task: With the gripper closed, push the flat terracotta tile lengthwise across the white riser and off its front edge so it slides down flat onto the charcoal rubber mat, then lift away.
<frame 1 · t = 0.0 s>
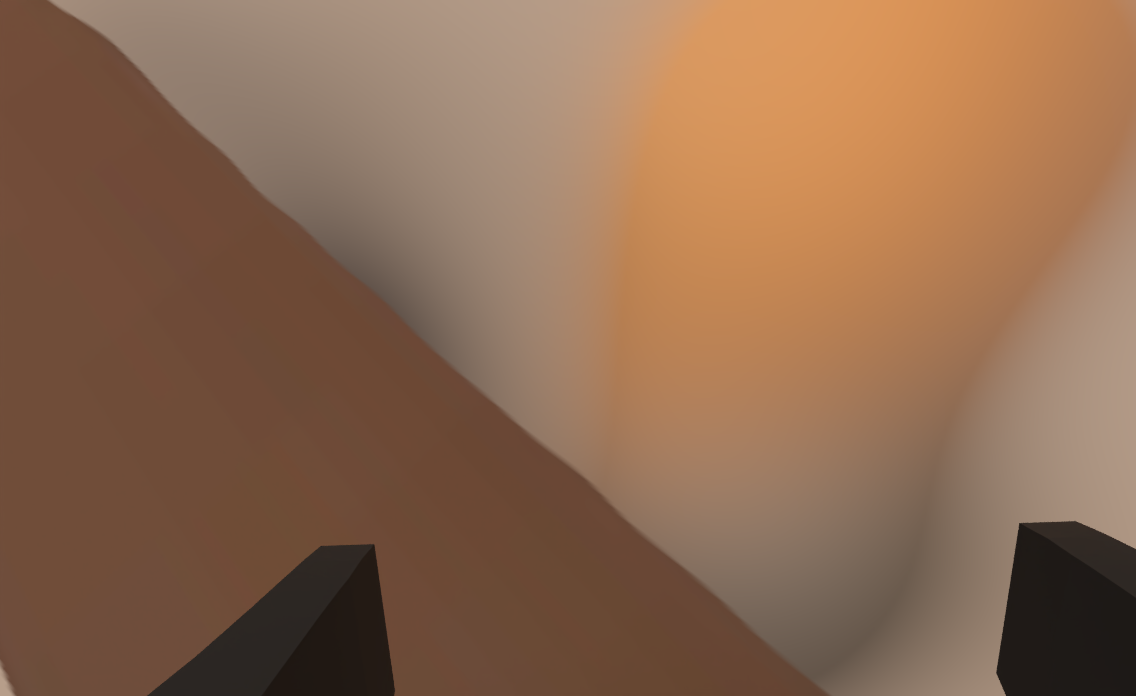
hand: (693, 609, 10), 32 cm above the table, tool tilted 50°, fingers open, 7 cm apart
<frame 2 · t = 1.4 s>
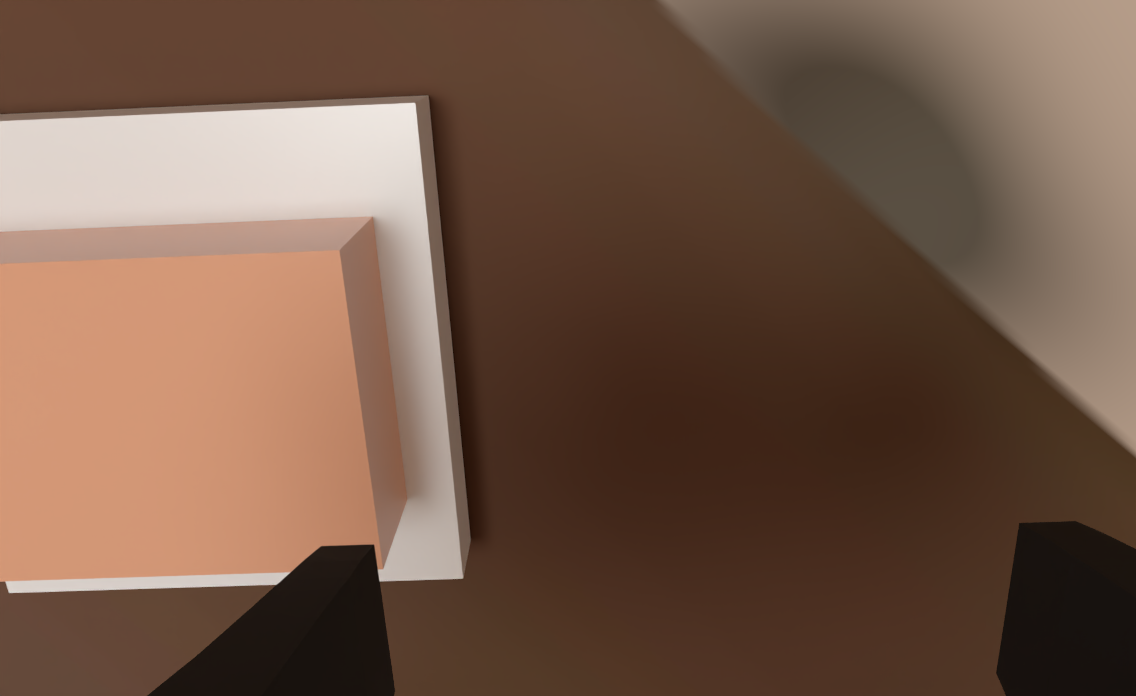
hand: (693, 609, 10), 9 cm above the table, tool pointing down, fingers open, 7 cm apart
white riser: (219, 347, 19), on the table
terracotta tile: (190, 373, 18), point 1 cm above the table, touching white riser
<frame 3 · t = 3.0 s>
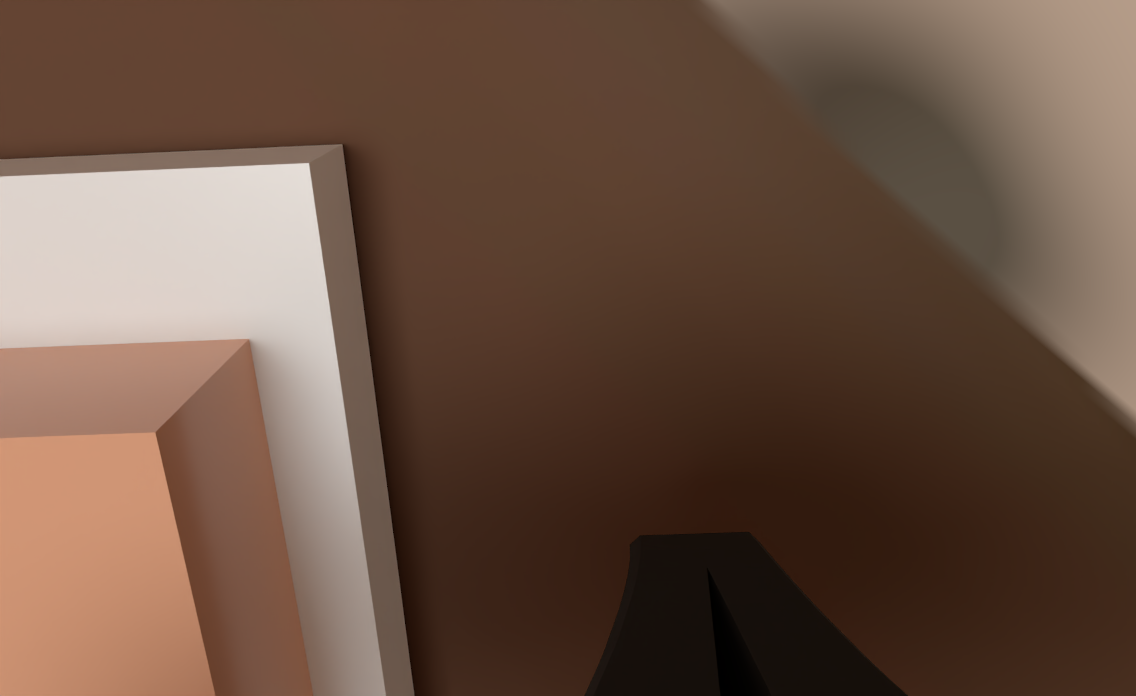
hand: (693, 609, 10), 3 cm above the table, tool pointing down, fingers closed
white riser: (47, 507, 13), on the table
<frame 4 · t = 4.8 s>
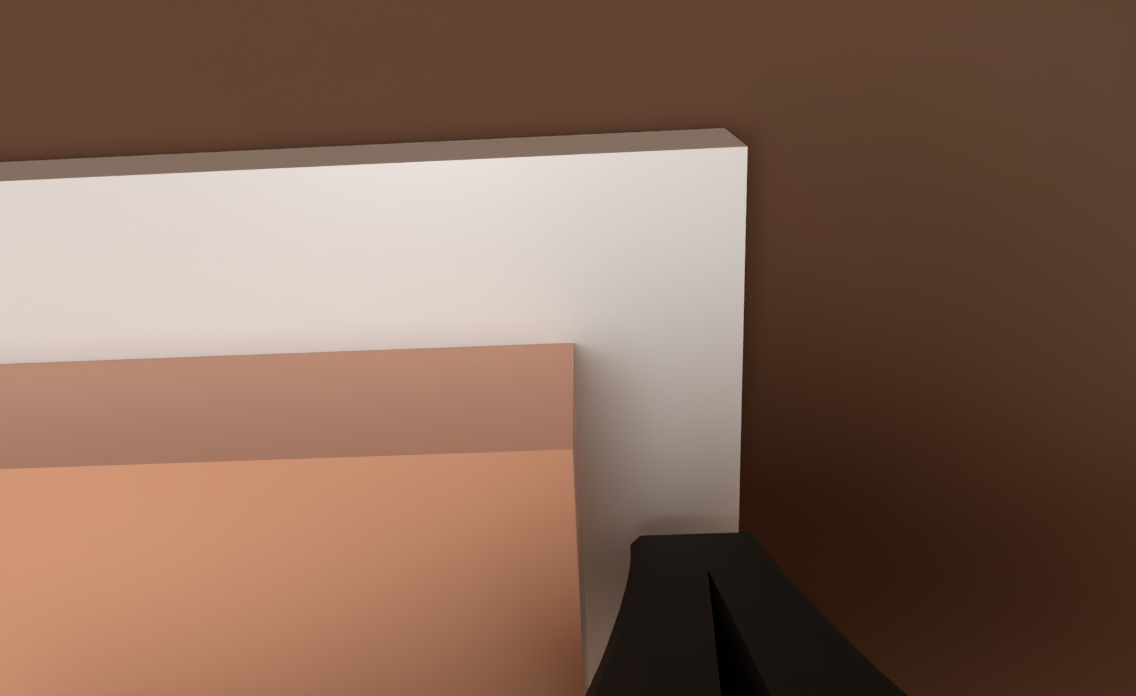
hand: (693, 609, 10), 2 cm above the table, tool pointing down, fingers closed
white riser: (352, 518, 12), on the table
terracotta tile: (254, 586, 11), point 2 cm above the table, touching white riser
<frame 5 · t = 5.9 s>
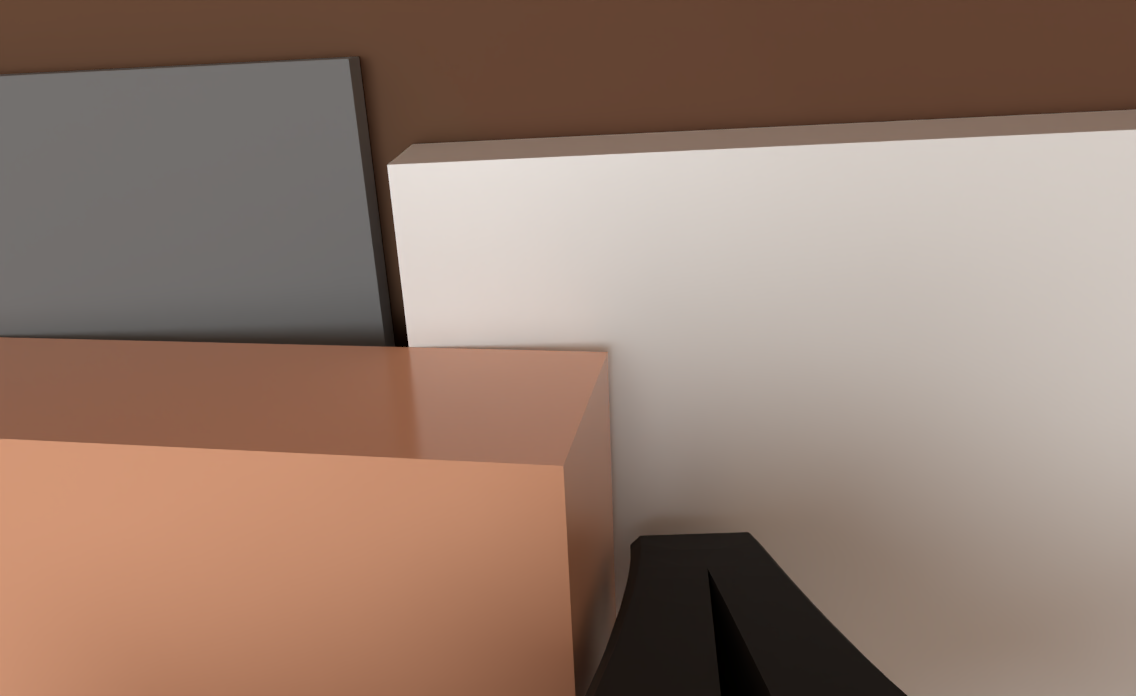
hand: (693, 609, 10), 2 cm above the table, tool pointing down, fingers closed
charcoal mat: (38, 465, 12), on the table
white riser: (820, 501, 12), on the table
terracotta tile: (296, 568, 11), point 1 cm above the table, tilted 10°, touching gripper
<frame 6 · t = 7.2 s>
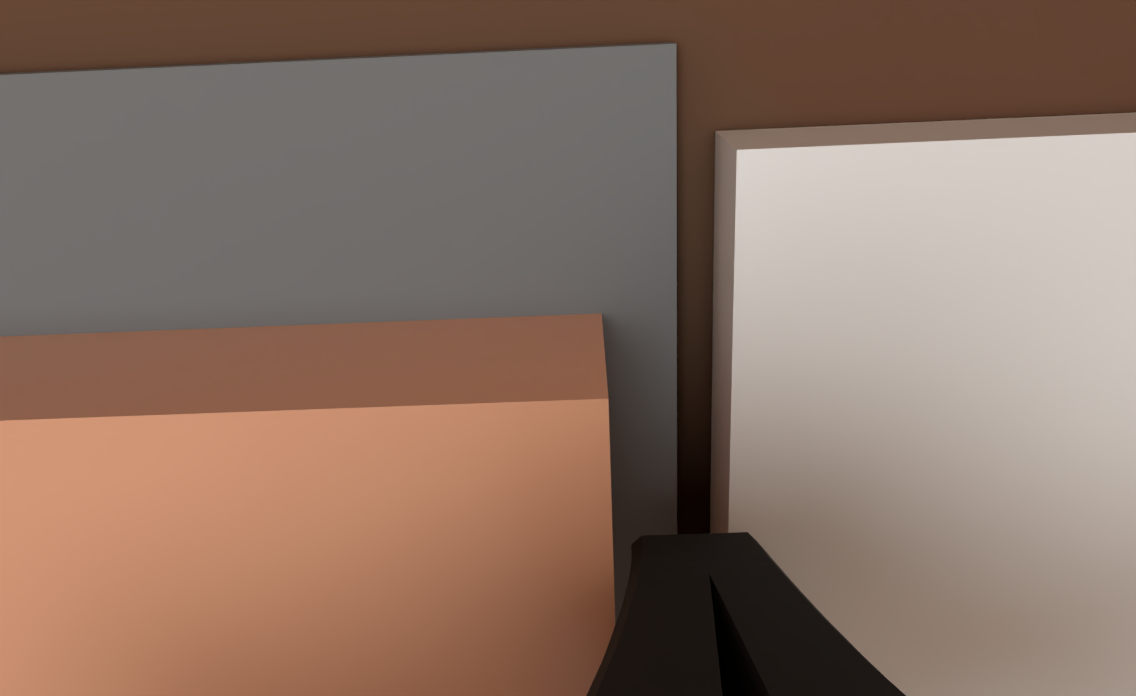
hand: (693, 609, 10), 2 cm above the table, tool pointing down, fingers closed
charcoal mat: (297, 455, 12), on the table
white riser: (1083, 494, 12), on the table
terracotta tile: (305, 540, 12), resting on charcoal mat, touching gripper
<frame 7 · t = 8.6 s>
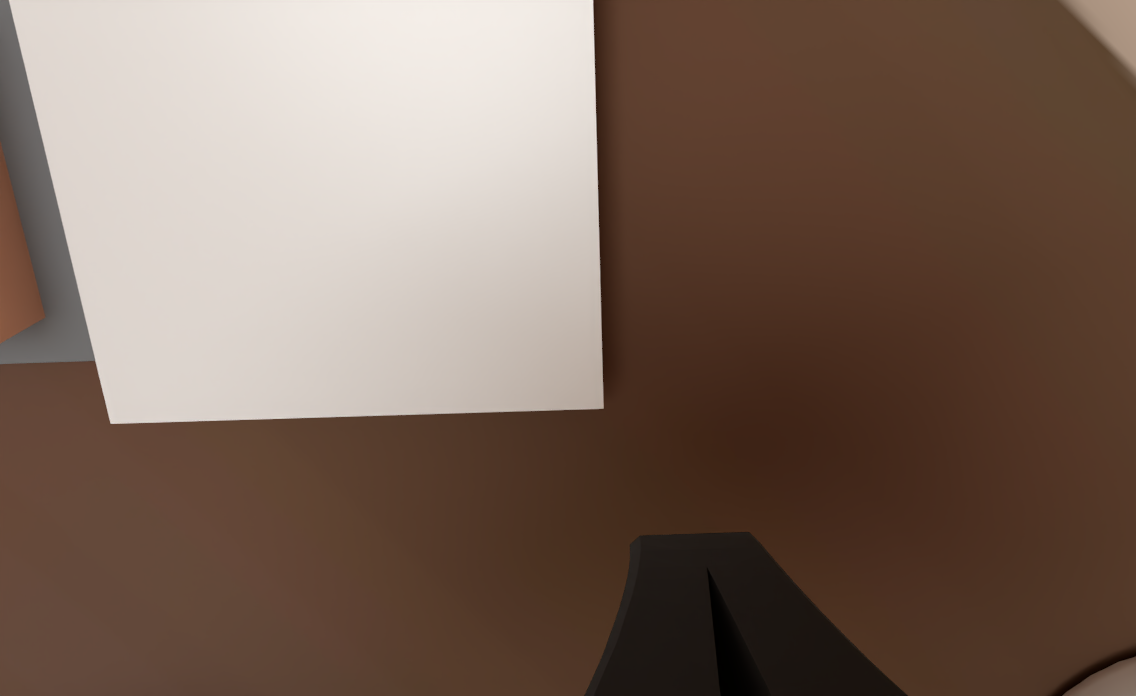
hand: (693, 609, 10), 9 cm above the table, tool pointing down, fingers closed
white riser: (342, 154, 18), on the table
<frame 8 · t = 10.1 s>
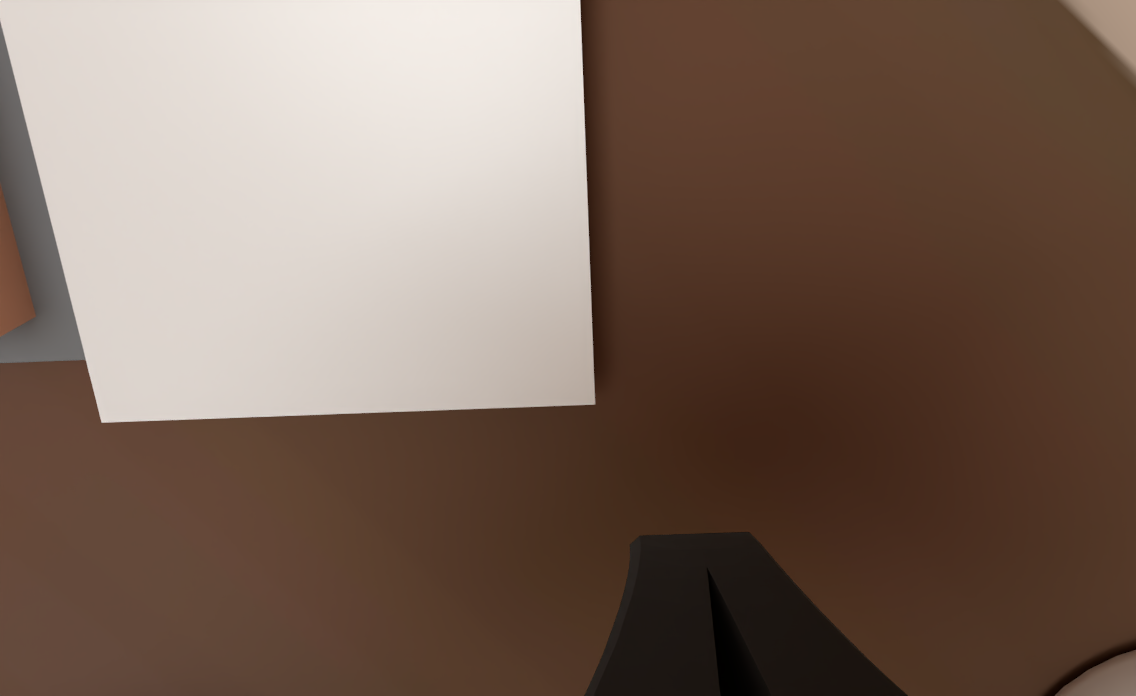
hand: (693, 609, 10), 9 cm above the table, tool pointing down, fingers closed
white riser: (331, 151, 18), on the table
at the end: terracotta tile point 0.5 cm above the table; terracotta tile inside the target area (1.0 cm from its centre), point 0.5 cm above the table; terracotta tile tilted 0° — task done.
